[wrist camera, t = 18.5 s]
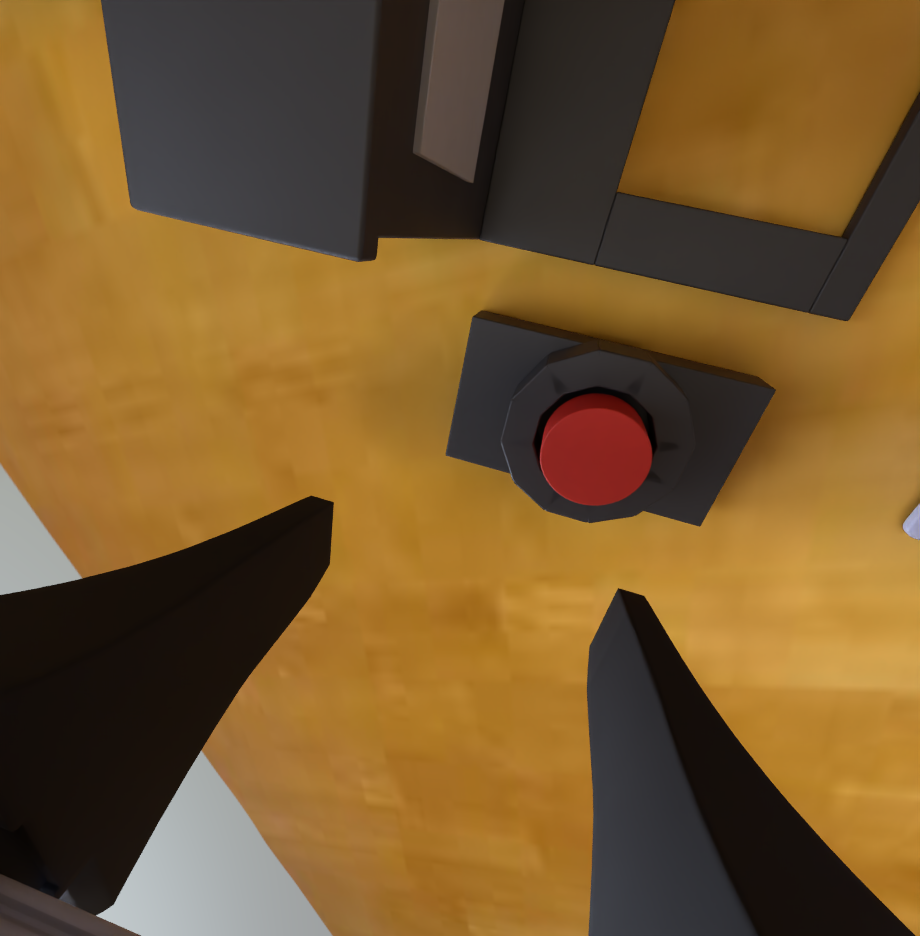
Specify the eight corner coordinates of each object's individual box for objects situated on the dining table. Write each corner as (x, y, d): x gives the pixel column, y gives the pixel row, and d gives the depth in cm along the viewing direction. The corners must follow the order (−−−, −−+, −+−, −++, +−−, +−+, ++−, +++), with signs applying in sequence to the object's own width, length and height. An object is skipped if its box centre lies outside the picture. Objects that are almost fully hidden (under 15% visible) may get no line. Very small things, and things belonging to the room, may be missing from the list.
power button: (662, 407, 15) (671, 424, 14) (624, 494, 17) (628, 518, 16) (559, 381, 16) (557, 395, 14) (531, 469, 18) (528, 489, 16)
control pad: (763, 370, 17) (803, 398, 14) (688, 510, 20) (708, 558, 17) (482, 303, 18) (463, 316, 15) (453, 445, 21) (433, 479, 18)
